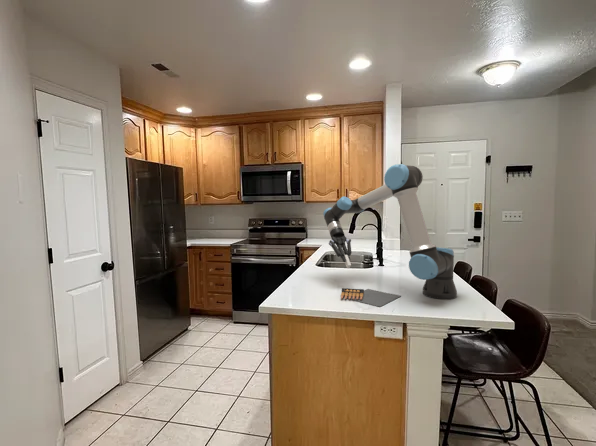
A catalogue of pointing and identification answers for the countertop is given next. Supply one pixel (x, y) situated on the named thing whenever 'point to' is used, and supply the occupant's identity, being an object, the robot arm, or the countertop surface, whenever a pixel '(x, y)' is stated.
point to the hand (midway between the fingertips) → (349, 266)
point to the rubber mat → (376, 298)
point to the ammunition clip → (355, 292)
